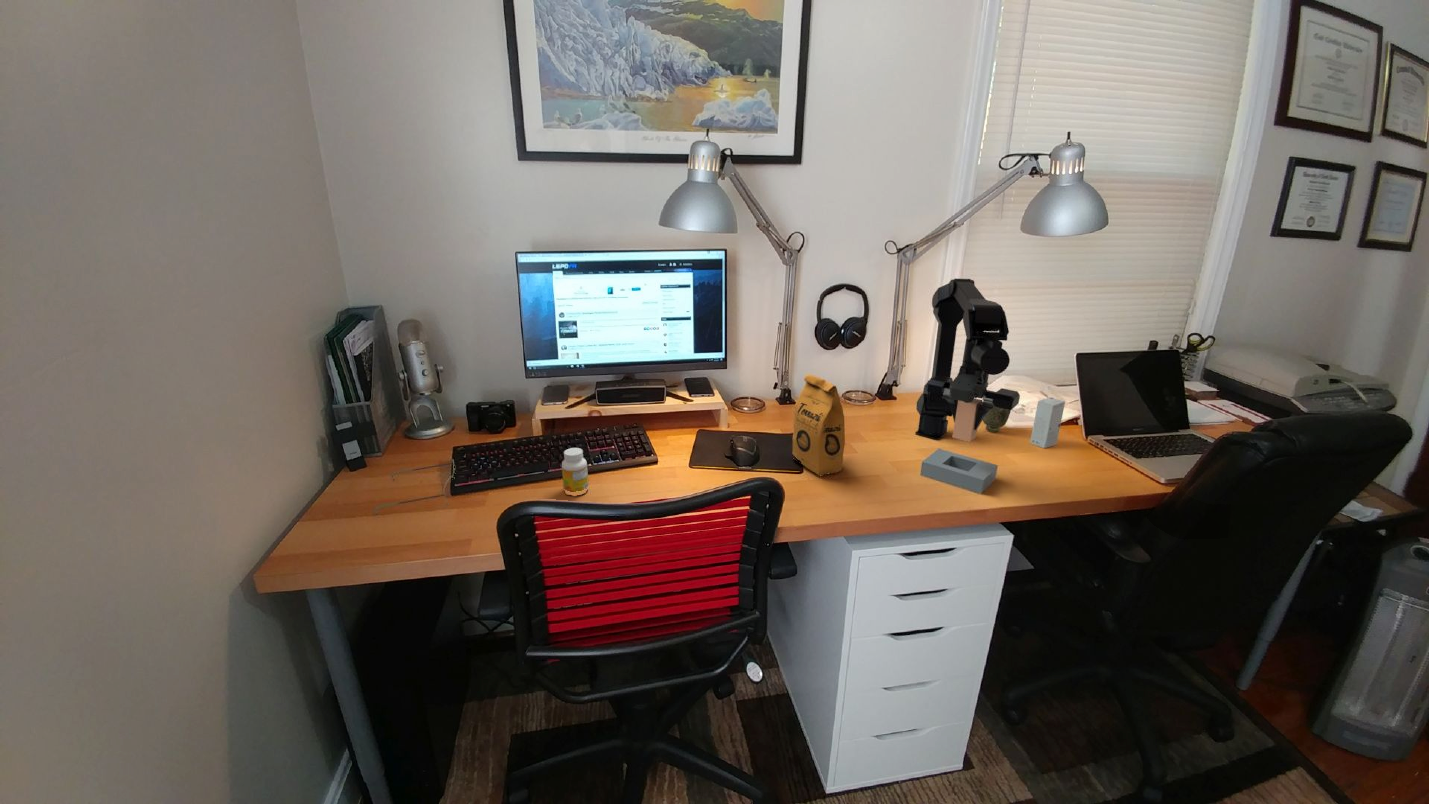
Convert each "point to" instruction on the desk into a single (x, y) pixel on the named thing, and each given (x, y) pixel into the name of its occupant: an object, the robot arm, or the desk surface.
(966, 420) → the terracotta peg
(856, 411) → the desk surface
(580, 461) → the supplement bottle
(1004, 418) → the cup
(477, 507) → the desk surface
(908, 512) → the desk surface
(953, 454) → the socket block
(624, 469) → the desk surface
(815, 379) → the coffee package
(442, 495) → the eyeglasses
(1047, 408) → the skincare box
